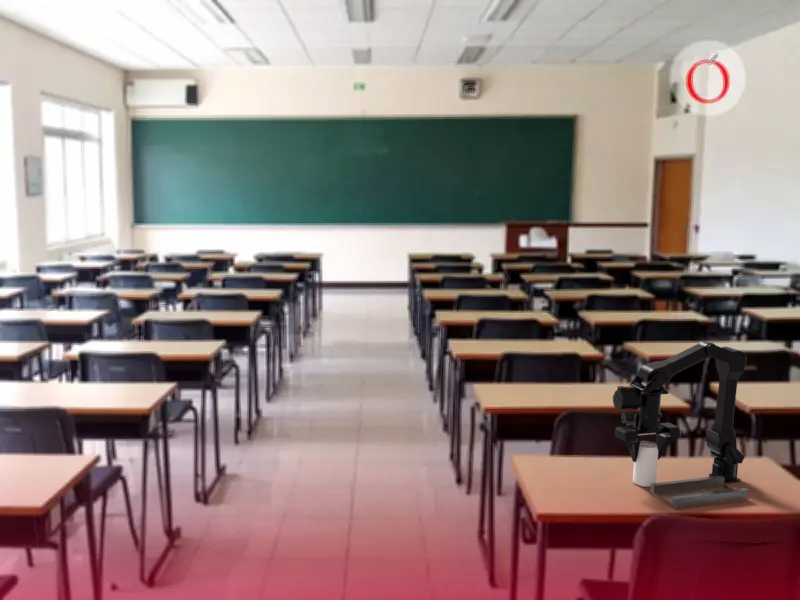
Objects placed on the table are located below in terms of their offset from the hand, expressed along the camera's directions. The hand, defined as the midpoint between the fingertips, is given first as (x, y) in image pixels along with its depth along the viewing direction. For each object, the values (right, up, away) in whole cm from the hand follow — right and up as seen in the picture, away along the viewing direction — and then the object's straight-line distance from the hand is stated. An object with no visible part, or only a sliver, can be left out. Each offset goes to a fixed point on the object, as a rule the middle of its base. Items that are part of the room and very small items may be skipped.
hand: (645, 460), depth 219 cm
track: (+12, -9, -8) cm, 17 cm away
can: (0, -7, +1) cm, 7 cm away
